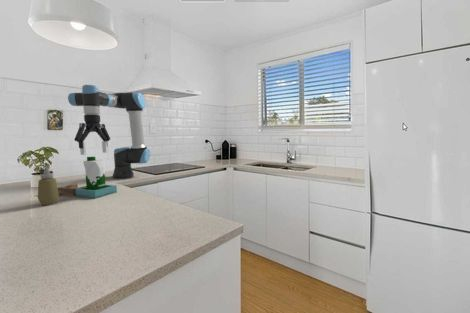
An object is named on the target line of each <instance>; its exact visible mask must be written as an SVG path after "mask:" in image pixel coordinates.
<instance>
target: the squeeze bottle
mask: <svg viewBox="0 0 470 313" xmlns="http://www.w3.org/2000/svg"><path fill="white" fill-rule="evenodd" d="M37 186H38V188H37V199H38V201H39V203H40V205H42V206H50V205H54V204H57V203H58V198H59V196H60V195H59V193H58V182H57V179H56V178H55V177H54V174H53V173H51V172H50V170H49V167H48V166H45V167H44V168H43V174H41V175H40V179H39V180H38V185H37Z"/></svg>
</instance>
